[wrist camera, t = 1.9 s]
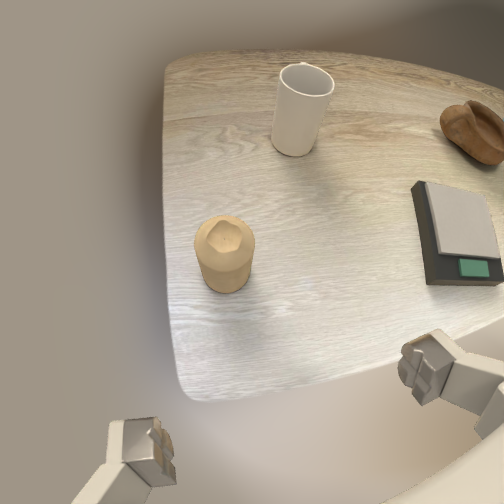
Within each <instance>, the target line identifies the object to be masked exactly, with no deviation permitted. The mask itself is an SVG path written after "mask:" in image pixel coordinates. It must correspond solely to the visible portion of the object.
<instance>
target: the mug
mask: <svg viewBox="0 0 504 504" xmlns="http://www.w3.org/2000/svg"><path fill="white" fill-rule="evenodd" d="M334 88H335V83H334V80H333V79H332V77H331V76H330V75H329V74H328V73H326V72H325V71H323V70H322V69H320V68H318V67H315V66H312V65H308V64H307V63H305V62H301V64H292V65H289V66H286V67H285V68H283V69H282V71H281V72H280V78H279V83H278V90H277V98H276V105H275V113H274V120H273V127H272V136H271V139H272V143H273V145H274V147H275V148H276V149H277V150H278V151H280V152H281V153H283V154H285V155H288V156H302V155H305V154H307V153H308V152H309V151H310V150H311V149H312V147H313V144H314V142H315V139H316V137H317V134H318V132H319V129H320V126H321V124H322V121H323V118H324V116H325V113H326V111H327V108H328V105H329V103H330V100H331V97H332V94H333V91H334Z"/></svg>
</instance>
